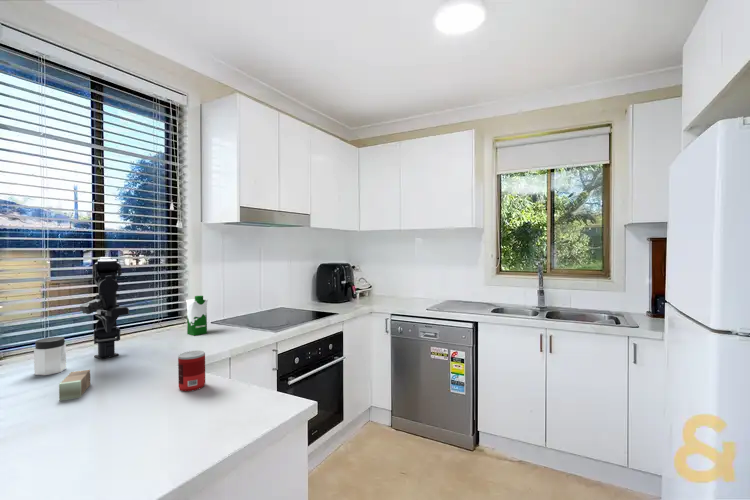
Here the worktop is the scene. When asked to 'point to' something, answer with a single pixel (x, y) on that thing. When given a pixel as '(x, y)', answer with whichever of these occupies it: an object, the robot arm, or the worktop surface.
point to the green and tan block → (74, 385)
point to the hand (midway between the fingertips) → (108, 332)
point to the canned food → (191, 370)
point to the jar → (49, 356)
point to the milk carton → (197, 316)
